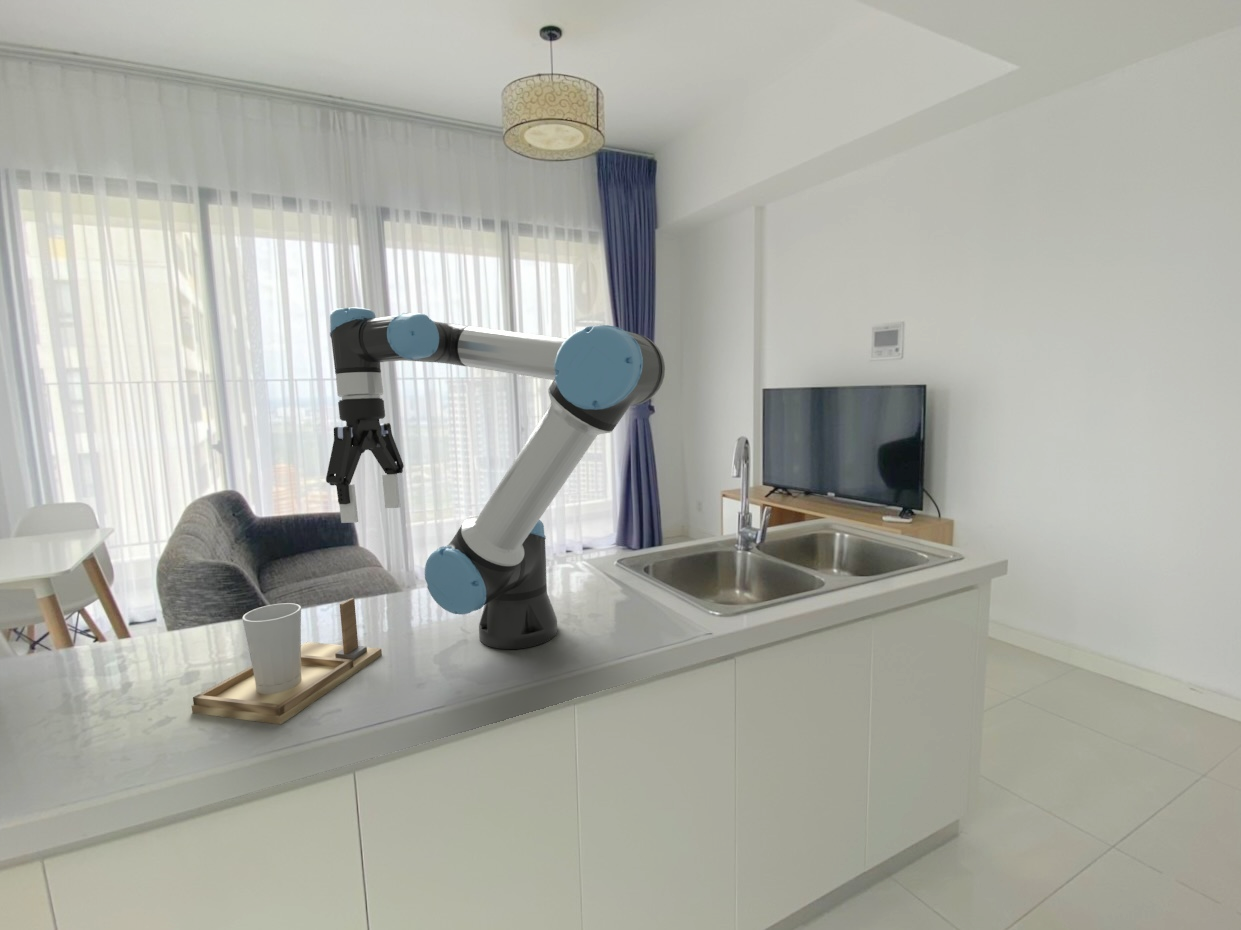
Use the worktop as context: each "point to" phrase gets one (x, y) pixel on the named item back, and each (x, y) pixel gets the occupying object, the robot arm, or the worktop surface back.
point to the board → (318, 674)
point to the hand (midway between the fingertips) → (372, 514)
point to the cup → (275, 646)
